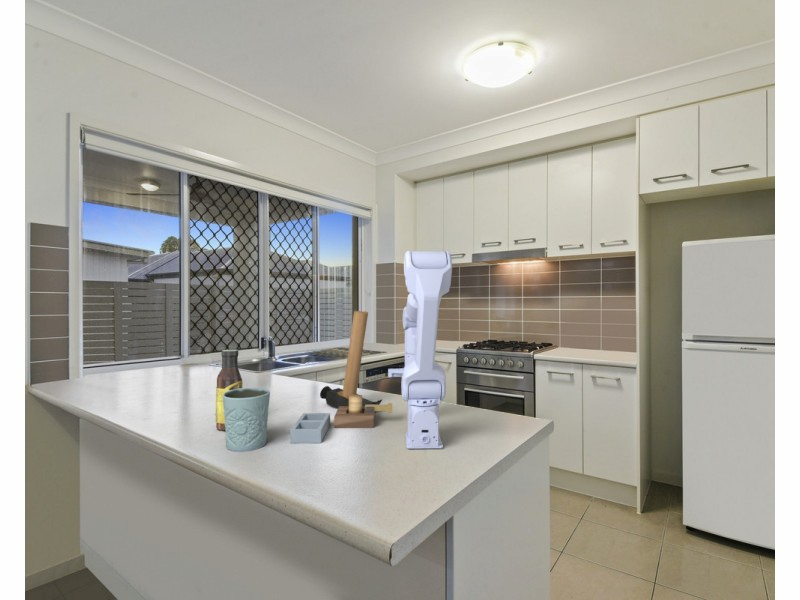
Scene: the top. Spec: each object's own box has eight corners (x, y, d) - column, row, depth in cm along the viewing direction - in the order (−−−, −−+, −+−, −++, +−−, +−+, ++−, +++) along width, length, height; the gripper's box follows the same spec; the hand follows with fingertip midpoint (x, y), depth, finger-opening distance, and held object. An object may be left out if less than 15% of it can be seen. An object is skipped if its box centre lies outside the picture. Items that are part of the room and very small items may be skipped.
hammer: (379, 418, 122) (394, 318, 119) (369, 422, 118) (384, 319, 115) (330, 397, 133) (342, 305, 130) (318, 400, 129) (331, 305, 126)
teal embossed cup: (254, 434, 101) (254, 385, 101) (279, 444, 95) (279, 391, 94) (213, 446, 93) (213, 392, 93) (237, 457, 87) (237, 399, 87)
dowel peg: (361, 424, 109) (361, 397, 109) (348, 424, 109) (348, 397, 109) (362, 420, 113) (362, 394, 113) (349, 420, 113) (349, 394, 113)
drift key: (392, 412, 110) (392, 405, 110) (364, 412, 110) (364, 406, 110) (392, 409, 113) (392, 402, 113) (365, 409, 113) (365, 403, 113)
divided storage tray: (320, 443, 95) (320, 429, 95) (290, 443, 95) (290, 430, 95) (330, 424, 109) (330, 413, 109) (303, 424, 109) (303, 413, 109)
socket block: (373, 427, 106) (373, 411, 106) (334, 428, 106) (334, 411, 106) (375, 416, 116) (375, 401, 116) (339, 416, 116) (339, 401, 116)
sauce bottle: (232, 432, 103) (232, 352, 103) (210, 430, 104) (209, 351, 104) (247, 424, 109) (247, 348, 109) (226, 423, 110) (225, 348, 110)
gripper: (440, 351, 116) (440, 399, 116) (388, 351, 115) (388, 400, 115) (443, 354, 109) (443, 406, 108) (388, 354, 108) (388, 406, 108)
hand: (415, 403), depth 111 cm, fingers closed
